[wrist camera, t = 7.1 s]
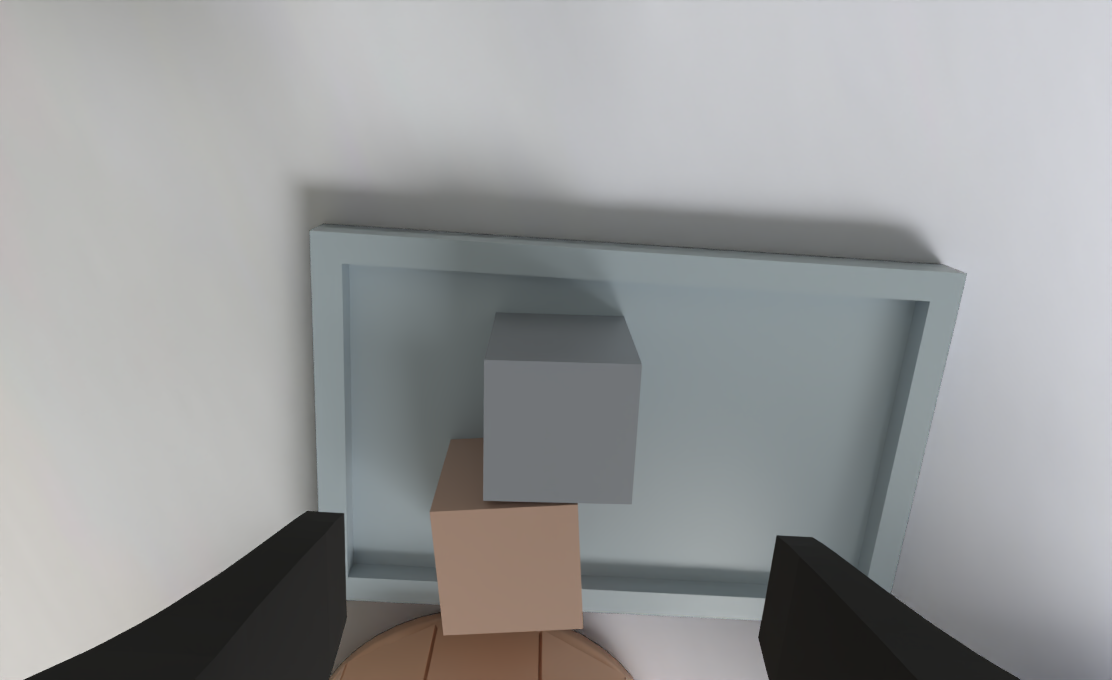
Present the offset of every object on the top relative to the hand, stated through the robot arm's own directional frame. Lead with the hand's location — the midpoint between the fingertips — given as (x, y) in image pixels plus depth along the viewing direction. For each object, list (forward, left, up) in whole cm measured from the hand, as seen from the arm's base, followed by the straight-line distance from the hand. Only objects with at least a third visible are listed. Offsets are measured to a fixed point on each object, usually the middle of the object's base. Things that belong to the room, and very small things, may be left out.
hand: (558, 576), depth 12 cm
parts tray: (-2, +2, -9) cm, 10 cm away
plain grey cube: (0, 0, -9) cm, 9 cm away
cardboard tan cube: (+1, +3, -9) cm, 10 cm away
